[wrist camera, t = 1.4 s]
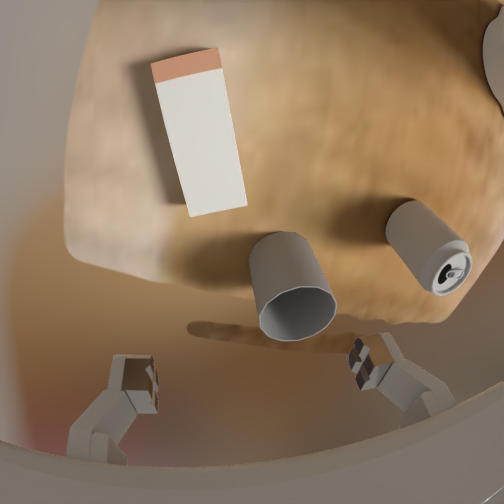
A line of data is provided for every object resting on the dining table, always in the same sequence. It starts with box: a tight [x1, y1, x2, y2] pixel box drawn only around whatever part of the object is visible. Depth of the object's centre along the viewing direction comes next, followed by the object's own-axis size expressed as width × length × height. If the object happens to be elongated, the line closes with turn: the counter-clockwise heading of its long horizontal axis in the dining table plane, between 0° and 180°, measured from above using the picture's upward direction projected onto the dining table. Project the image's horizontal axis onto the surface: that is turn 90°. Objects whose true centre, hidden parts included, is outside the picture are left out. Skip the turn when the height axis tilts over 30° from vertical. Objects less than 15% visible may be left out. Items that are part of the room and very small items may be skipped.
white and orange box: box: [151, 48, 248, 217], centre depth 28 cm, size 6×16×3 cm, turn 9°
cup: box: [248, 231, 337, 341], centre depth 36 cm, size 8×8×10 cm
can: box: [385, 201, 472, 296], centre depth 34 cm, size 8×8×12 cm
